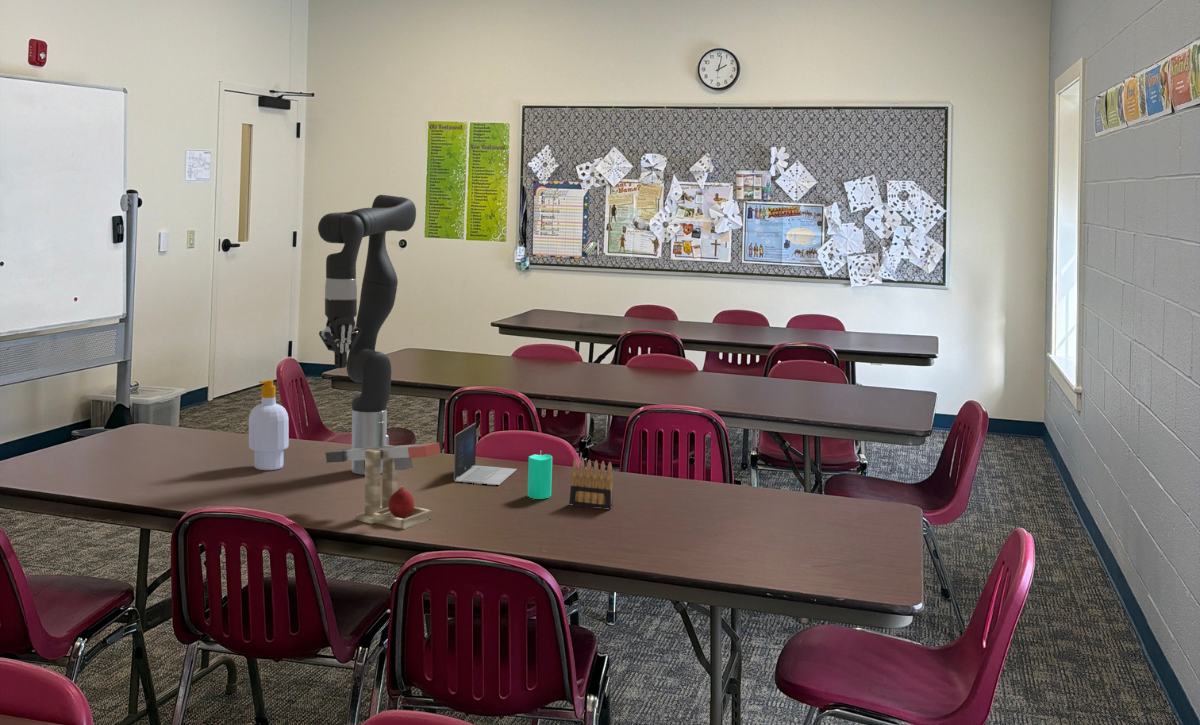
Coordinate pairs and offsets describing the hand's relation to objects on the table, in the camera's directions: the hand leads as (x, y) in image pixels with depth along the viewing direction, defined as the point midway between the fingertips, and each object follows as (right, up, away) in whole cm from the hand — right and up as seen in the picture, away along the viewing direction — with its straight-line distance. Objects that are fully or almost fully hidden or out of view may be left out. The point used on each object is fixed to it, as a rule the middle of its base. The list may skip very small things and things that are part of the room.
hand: (340, 367), depth 246 cm
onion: (+18, -35, -15) cm, 42 cm away
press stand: (+16, -35, -14) cm, 41 cm away
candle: (+48, -33, +10) cm, 59 cm away
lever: (+14, -24, -14) cm, 31 cm away
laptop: (+32, -30, +28) cm, 52 cm away
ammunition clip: (+61, -35, +3) cm, 70 cm away
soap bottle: (-27, -28, +28) cm, 48 cm away
